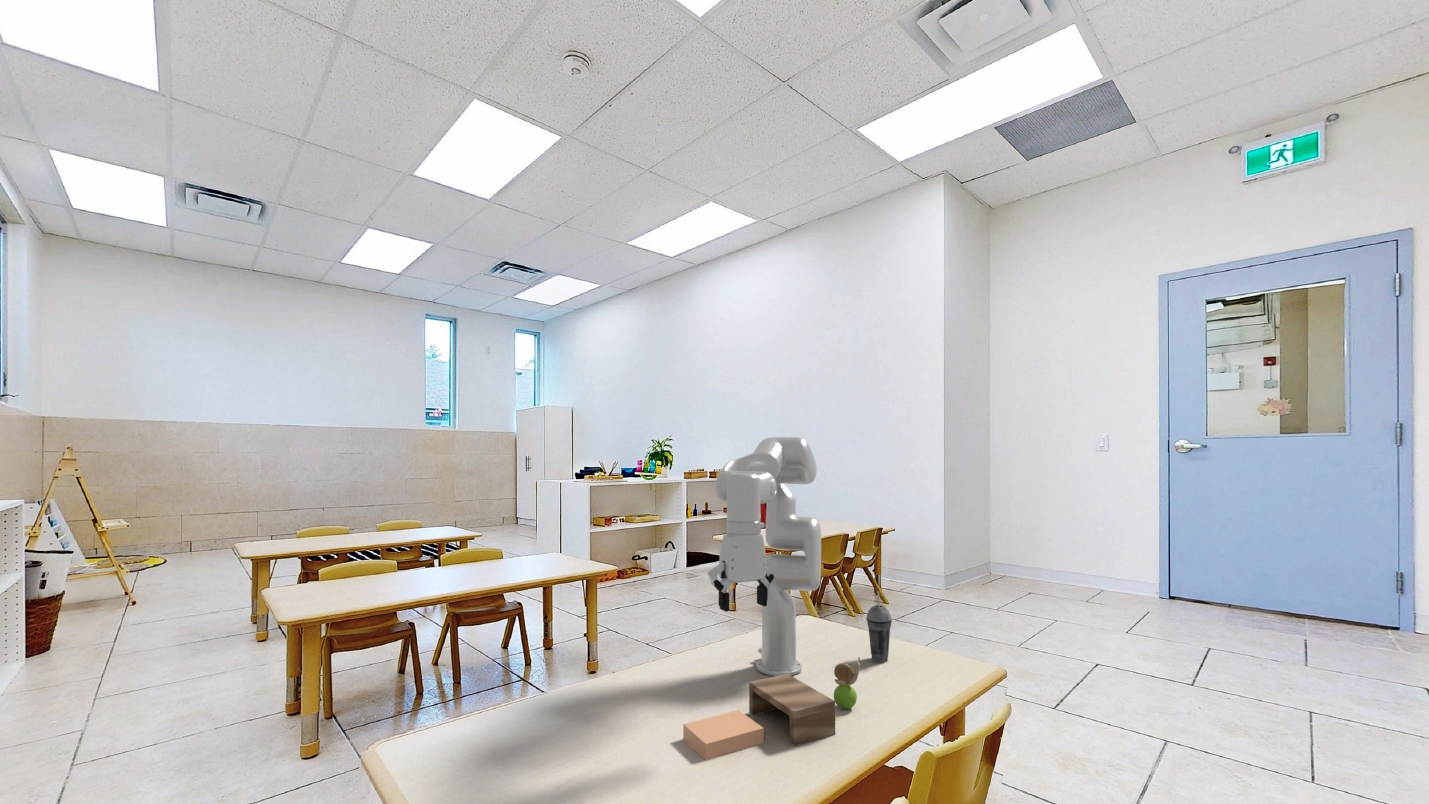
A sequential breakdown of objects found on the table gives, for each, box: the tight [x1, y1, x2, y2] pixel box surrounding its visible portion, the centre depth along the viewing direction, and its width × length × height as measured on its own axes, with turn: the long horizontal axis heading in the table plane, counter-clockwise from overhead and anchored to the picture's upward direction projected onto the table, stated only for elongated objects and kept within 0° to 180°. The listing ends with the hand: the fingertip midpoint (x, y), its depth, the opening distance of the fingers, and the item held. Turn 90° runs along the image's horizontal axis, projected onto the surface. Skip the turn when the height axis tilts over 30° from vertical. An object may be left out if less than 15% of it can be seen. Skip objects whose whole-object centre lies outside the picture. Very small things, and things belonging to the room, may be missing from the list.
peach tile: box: [682, 710, 765, 761], centre depth 131 cm, size 10×14×4 cm
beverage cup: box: [866, 590, 893, 664], centre depth 180 cm, size 7×7×20 cm
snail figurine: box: [833, 656, 861, 710], centre depth 147 cm, size 5×6×12 cm
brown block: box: [748, 674, 836, 747], centre depth 139 cm, size 18×11×7 cm, turn 28°
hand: (743, 607), depth 135 cm, fingers open, 9 cm apart
